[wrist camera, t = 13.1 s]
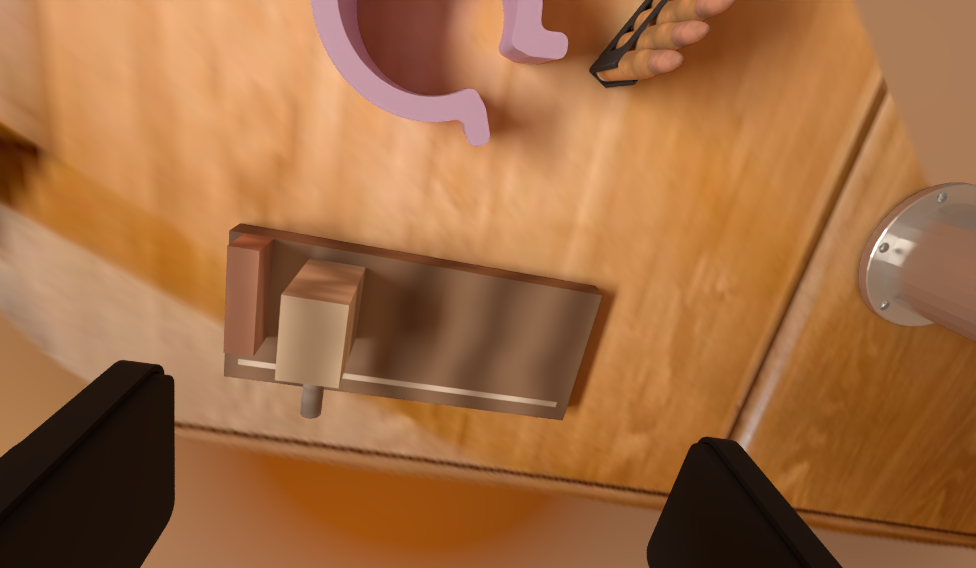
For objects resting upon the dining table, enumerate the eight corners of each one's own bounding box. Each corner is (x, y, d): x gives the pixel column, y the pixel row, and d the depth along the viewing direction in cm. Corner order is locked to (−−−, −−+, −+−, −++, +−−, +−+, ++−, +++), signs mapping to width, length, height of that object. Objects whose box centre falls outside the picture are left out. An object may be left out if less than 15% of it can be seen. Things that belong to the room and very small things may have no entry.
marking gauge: (365, 267, 37) (349, 305, 30) (349, 382, 40) (332, 438, 34) (309, 258, 36) (281, 294, 30) (298, 375, 40) (270, 431, 33)
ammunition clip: (606, 88, 36) (680, 88, 25) (587, 70, 35) (655, 62, 24) (716, -44, 33) (853, -111, 22) (698, -66, 33) (829, -145, 22)
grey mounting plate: (595, 286, 41) (614, 311, 37) (557, 406, 45) (570, 443, 41) (240, 223, 37) (211, 242, 32) (233, 363, 41) (207, 398, 36)
